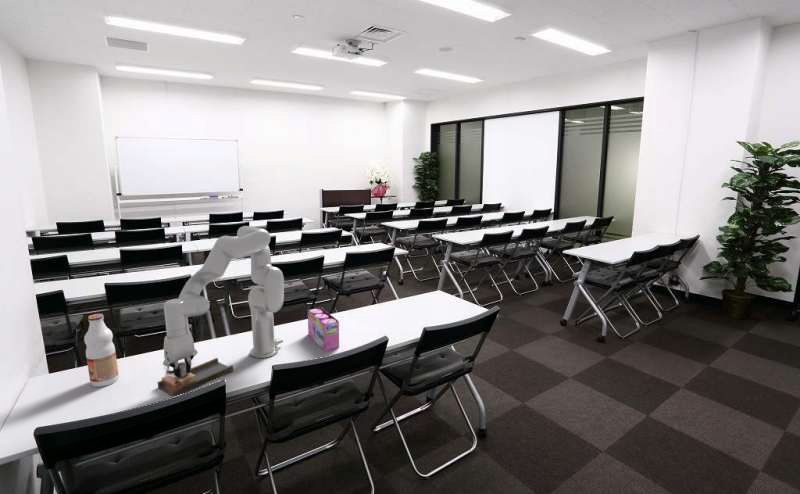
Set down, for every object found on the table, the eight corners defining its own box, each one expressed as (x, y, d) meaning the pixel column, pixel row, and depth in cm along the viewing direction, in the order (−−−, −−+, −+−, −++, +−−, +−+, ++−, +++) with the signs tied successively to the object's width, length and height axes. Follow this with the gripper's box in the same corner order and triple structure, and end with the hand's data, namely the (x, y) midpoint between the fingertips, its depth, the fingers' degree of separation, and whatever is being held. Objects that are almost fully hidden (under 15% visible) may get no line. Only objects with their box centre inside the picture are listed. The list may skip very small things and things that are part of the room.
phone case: (169, 359, 187) (167, 375, 173) (168, 356, 187) (167, 371, 173) (191, 355, 191) (191, 370, 177) (190, 352, 191) (191, 367, 177)
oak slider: (185, 376, 169) (183, 358, 168) (196, 382, 165) (194, 363, 163) (170, 382, 165) (168, 363, 163) (181, 388, 160) (179, 369, 158)
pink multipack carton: (306, 333, 216) (305, 308, 213) (321, 330, 220) (320, 305, 217) (324, 351, 196) (323, 324, 193) (339, 347, 200) (339, 321, 197)
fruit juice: (110, 387, 163) (101, 320, 157) (85, 388, 162) (74, 320, 156) (123, 375, 172) (115, 311, 166) (99, 375, 171) (90, 311, 165)
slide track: (217, 363, 183) (216, 354, 182) (233, 371, 176) (232, 362, 175) (158, 387, 163) (157, 378, 162) (173, 398, 156) (172, 388, 155)
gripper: (193, 322, 169) (197, 363, 173) (150, 335, 156) (156, 380, 160) (203, 326, 165) (207, 368, 169) (160, 341, 151) (166, 386, 155)
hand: (182, 374), depth 164 cm, fingers closed on oak slider, 3 cm apart
